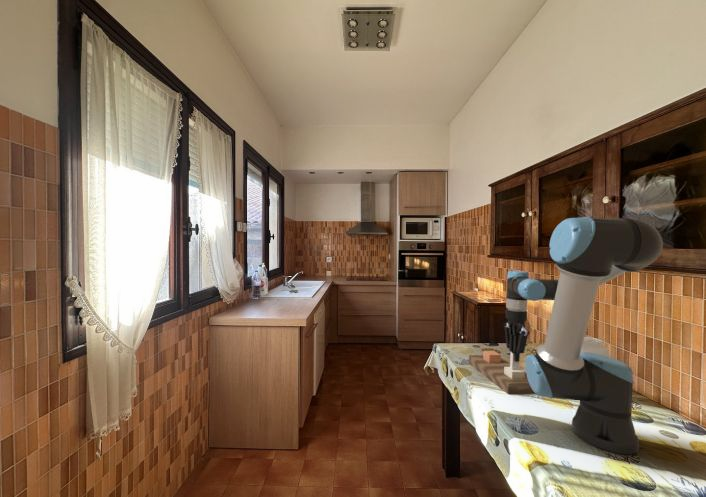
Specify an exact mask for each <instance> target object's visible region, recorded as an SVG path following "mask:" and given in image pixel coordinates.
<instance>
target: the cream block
mask: <svg viewBox="0 0 706 497" xmlns="http://www.w3.org/2000/svg"><path fill="white" fill-rule="evenodd" d="M525 372H526V371H524V370H523V369H521V368H519V369H511V368H510V367H504V374H506V375H507V376H508V377H510V378H511V379H524V377H525Z"/></svg>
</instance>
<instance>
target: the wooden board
mask: <svg viewBox="0 0 706 497" xmlns="http://www.w3.org/2000/svg"><path fill="white" fill-rule="evenodd" d="M468 365H470V366H471V367H473V368H474V369H475V370H476V371H478V372H479V373H480V374H481V375H483V376H484V377H485V378H486V379H488V380H489V381H491V383H493V384H494V385H496V387H498V388H500V389H501V390H502V391H503V392H505V393H506V394H507V395H527V394H528V395H529V394H532V395H533V394H535V395H537V394H536V393H535V392H534V391H533V390H532V388H531V386H530V384H529V381H528V378H527V374H526V371H524V372H525V377H524V379H511V378H510V377H508V376H507V375H506V374H504V367H510V361H508V360H506V359H504V358H502V357H501V360H500V363H488V362H486V361H485V360H484V359H483V354H480V355H479V354H474V355H472V354H471V355H468Z"/></svg>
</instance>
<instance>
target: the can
mask: <svg viewBox="0 0 706 497" xmlns="http://www.w3.org/2000/svg"><path fill="white" fill-rule="evenodd" d="M585 352H589V353H595V354H599V355H603V356H607V357H610V358H611V353H610V350H609V349H608V348H607V347H606V346H605V343H604V341H603V340H601V339H598V338H595V337H591V336H585V337H584V341H583V345H582V348H581V352H580V356H581V355H582V353H585Z"/></svg>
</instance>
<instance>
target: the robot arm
mask: <svg viewBox="0 0 706 497" xmlns="http://www.w3.org/2000/svg"><path fill="white" fill-rule="evenodd" d="M663 246H664V242H663V238H662V236H661V234H660V233H659V231H658V229H657V228H656V227H655V226H654V225H652V224H650V223H648V222H647V221H644V220H641V219H639V218H638V219H637V218H631V217H630V218H628V217H627V218H625V217H624V218H622V217H621V218H620V217H617V218H615V217H591V216H590V217H589V216H583V217H569V218H566V219H564V220H562V221H561V222H559V223H558V224H557V226H556V227H555V228H554V230H553V231H552V233H551V236H550V240H549V254H550V258H551V259H552V260H553V261H554V262H555V266H556V268H557V269H558V271H560V272H559V278H558V279H552V278H551V279H546V278H530V277H529V273H528V271H525V270H524V271H523V270H509V271H508V272H507V275H506V276H507V278H506V300H505V301H506V302H505V307H506V310H505V318H506V319H507V322H506V323H505V322H504V323H503V328H504V332H505V345H506V348H507V349H509V363H510V368H511V369H520V360H521V359H520V358H521V357H520V355H521V354H524V353H525V349H526V344H527V340H528V336H529V335H530V331H529V330H526V324H525V322H527V321H528V312H527V310H528V301H533V302H534V301H535V302H536V301H540V300H541V301H542V300H543V301H553V303H552V308H551V313H550V317H549V322H548V326H547V330H546V335H545V340H544V343H541V344H539V345H538V346H537V348H536V351H535V354H532V353H531V354H528V355H527V356H526V357H525V362H524V365H525V372H526V374H527V378H528V381H529V384H530V386H531V388H532V390H533V391H534V392H535V393H536V394H535V395H537V396H538V397H541V398H546V399H547V398H549V399H550V400H551V399H560V400H569V401H579V405H578V407H577V409H576V410H575V414H574V416H573V417H572V420H571V429H572V431H573V433H574V434H575V436H577V437H579V438H580V439H581V440H583V441H584V442H586V443H588V444H589V445H592V446H594V447H596V448H599V449H601V450H603V451H607V452H610V453H615V454H620V455H635V454H636V453H638V452H639V451H640V450H639V449H640V439H639V438H638V436H637V434H636V429H635V426H634V423H633V419H632V409H633V408H632V407H633V389H634V388H633V385H634V382H635V381H634V374H633V369H632V368H631V367H630V366H629V365H628V364H627V363H625V362H623V361H621V360H618V359H615V358H613V357H611V356H610V357H607V356H603V355H599V354H595V353H589V352H585V353H582V355H581V356H580V352H581V348H582V345H583V341H584V337H586V333H587V331H588V330H587V329H588V327H589V322H590V319H591V315H592V312H593V309H594V304H595V300H596V296H597V293H598V290H599V287H600V286H603V285H604V284H606V283H608V282H610V281H612V280H613V279H615V278H617V277H619V276H621V275H623V274H626V272H628V273H634V272H635V273H636V272H638V271H640V270H642V269H644V268H647V267H648V266H650V265H652V264H653V263H654V262H656V261H657V260H658V259H659V257H660V256H661V253H662V252H663Z"/></svg>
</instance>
